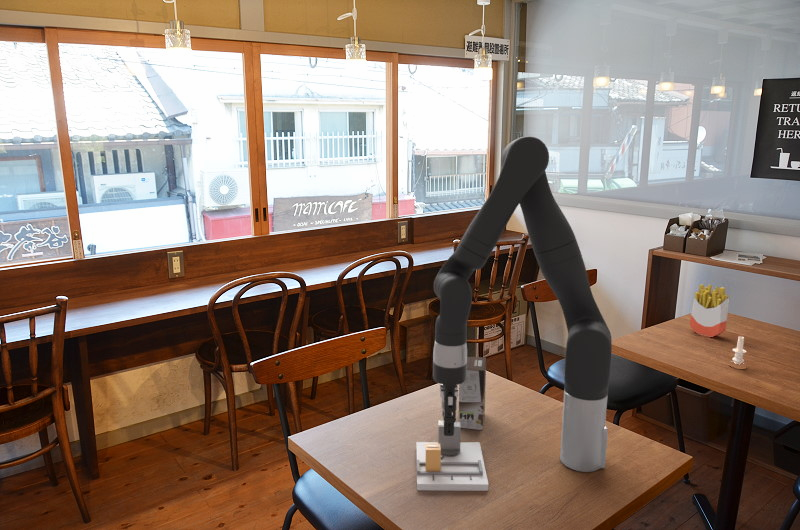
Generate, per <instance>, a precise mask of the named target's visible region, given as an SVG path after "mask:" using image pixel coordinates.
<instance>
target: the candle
mask: <svg viewBox="0 0 800 530" xmlns="http://www.w3.org/2000/svg"><path fill="white" fill-rule="evenodd" d="M737 338H738V339H737V344H736V347H735V348H732V352H734V357H732V362H734V363H735V364H739V365H740V364H741V363H744V362H745V360H744V359H743V357H744V354H745V353H747V350H745V349H744V342H745V337H744V336H743V335H739V336H738V337H737Z"/></svg>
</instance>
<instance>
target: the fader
mask: <svg viewBox="0 0 800 530" xmlns="http://www.w3.org/2000/svg"><path fill="white" fill-rule="evenodd" d="M426 471H434V472H441V447H440V444H426Z"/></svg>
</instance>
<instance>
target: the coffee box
mask: <svg viewBox="0 0 800 530" xmlns="http://www.w3.org/2000/svg"><path fill="white" fill-rule="evenodd" d="M486 373H487V357H483V356H482V357H481V356H467V370H466V380H465V382H463V383H462V384H458V386H459V387H458V388H459V389H458V418H457V419H458V421H457V422H460V426H461V429H470V430H478V431H479V430H480V431H481V430H483V427H484V420H485V413H486V412H485V411H486V409H485V408H486V382H487V381H486V380H487V379H486V378H487V374H486Z"/></svg>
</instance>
